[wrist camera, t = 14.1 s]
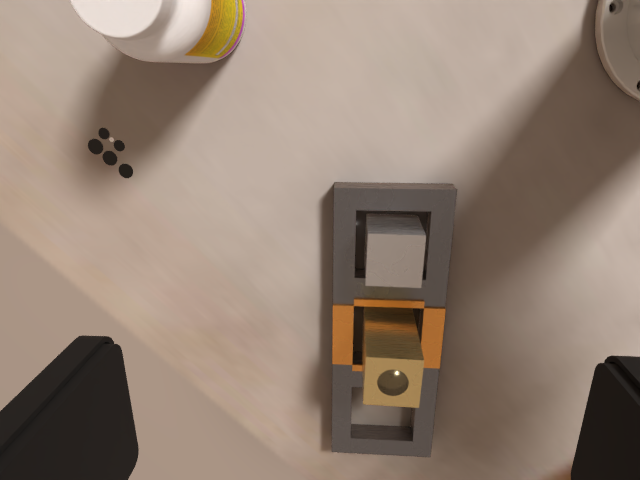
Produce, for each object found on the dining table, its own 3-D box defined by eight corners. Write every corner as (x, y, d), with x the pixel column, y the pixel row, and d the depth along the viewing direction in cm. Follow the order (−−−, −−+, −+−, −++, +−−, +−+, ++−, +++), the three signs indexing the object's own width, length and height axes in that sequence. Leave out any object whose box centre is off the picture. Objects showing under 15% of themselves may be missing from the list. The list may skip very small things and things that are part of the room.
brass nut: (411, 305, 40) (424, 360, 32) (407, 346, 41) (418, 408, 34) (364, 303, 40) (365, 357, 33) (361, 343, 42) (362, 404, 34)
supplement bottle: (238, -49, 32) (166, -119, 20) (256, 56, 34) (201, 49, 22) (145, -32, 33) (20, -90, 21) (168, 69, 35) (68, 70, 23)
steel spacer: (417, 214, 37) (426, 235, 33) (413, 261, 39) (421, 287, 34) (366, 212, 37) (368, 233, 33) (364, 259, 39) (365, 285, 34)
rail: (452, 183, 36) (457, 190, 34) (427, 442, 45) (430, 458, 43) (334, 182, 37) (333, 188, 35) (332, 437, 45) (331, 453, 43)
